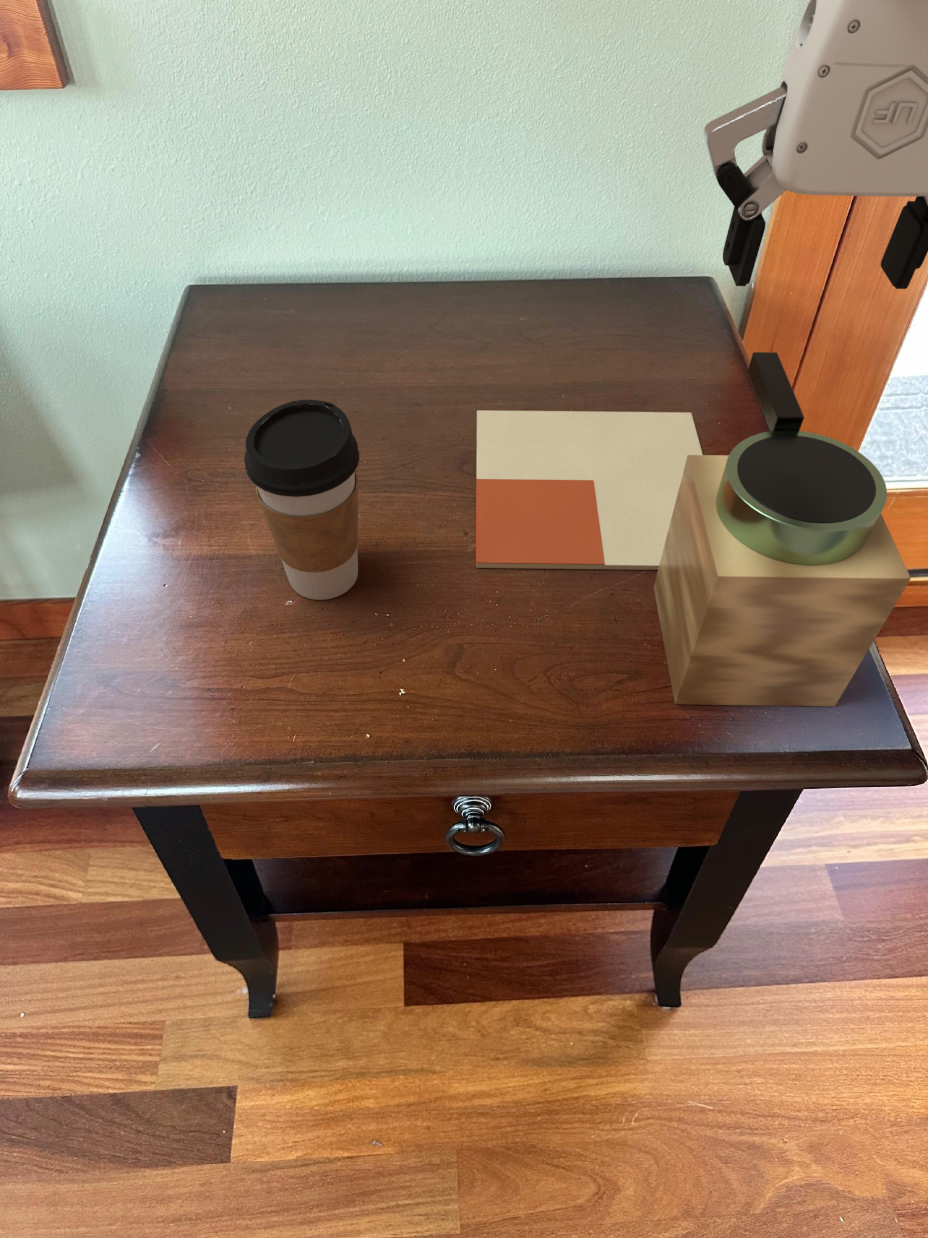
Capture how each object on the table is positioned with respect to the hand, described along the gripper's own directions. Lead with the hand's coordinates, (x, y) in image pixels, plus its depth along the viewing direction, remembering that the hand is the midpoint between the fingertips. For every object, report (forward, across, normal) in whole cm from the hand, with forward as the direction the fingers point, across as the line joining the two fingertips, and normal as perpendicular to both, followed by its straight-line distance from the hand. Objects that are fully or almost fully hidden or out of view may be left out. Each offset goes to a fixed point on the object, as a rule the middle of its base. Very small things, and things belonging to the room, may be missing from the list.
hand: (814, 276), depth 52 cm
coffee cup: (+27, -34, -1) cm, 43 cm away
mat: (+26, -10, +11) cm, 30 cm away
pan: (+12, 0, -4) cm, 13 cm away
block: (+26, 0, -8) cm, 27 cm away
